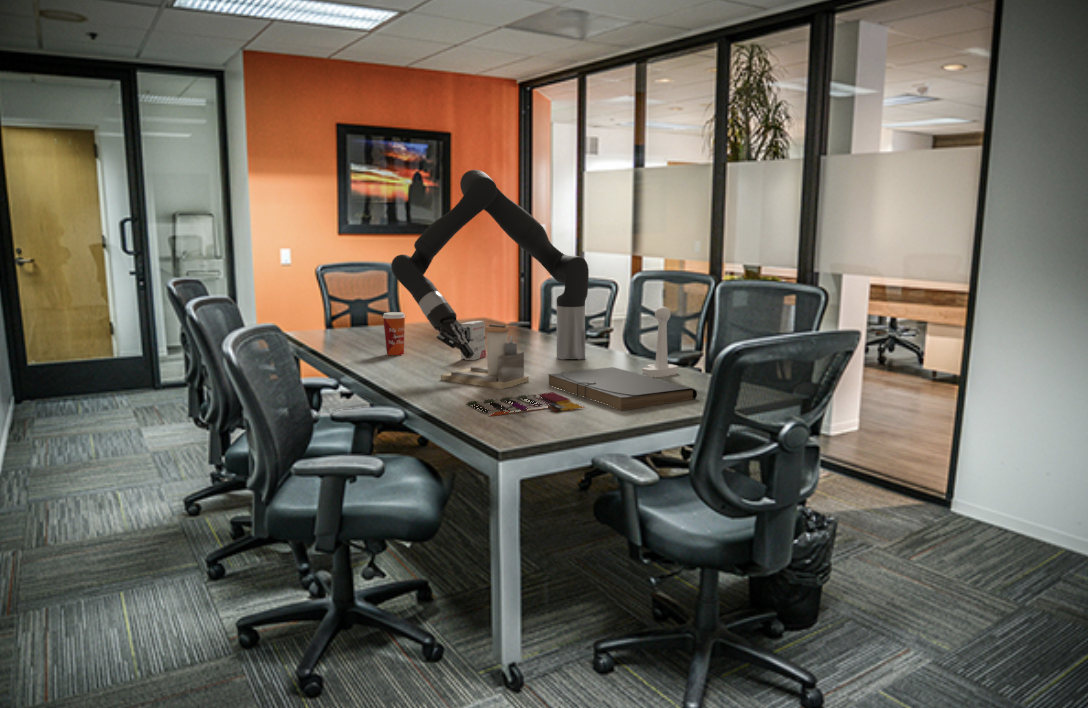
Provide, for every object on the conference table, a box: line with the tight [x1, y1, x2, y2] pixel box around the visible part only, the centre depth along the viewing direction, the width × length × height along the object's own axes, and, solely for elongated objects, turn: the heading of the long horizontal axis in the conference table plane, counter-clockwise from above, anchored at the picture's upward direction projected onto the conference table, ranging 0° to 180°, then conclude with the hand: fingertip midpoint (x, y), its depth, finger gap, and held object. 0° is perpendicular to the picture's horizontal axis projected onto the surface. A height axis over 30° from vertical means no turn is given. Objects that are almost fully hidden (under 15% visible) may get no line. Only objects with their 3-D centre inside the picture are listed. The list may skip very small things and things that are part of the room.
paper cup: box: [382, 311, 406, 356], centre depth 256 cm, size 8×8×14 cm
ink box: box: [460, 320, 487, 361], centre depth 249 cm, size 9×5×12 cm, turn 154°
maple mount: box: [440, 351, 530, 390], centre depth 214 cm, size 22×12×8 cm, turn 55°
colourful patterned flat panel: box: [465, 391, 584, 417], centre depth 184 cm, size 25×18×3 cm
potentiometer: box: [505, 335, 518, 355], centre depth 207 cm, size 3×3×5 cm
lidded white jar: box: [485, 323, 510, 377], centre depth 210 cm, size 7×7×14 cm
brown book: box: [547, 367, 698, 412], centre depth 200 cm, size 33×4×24 cm
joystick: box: [641, 306, 679, 378], centre depth 221 cm, size 11×8×20 cm
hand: (470, 356), depth 215 cm, fingers closed
